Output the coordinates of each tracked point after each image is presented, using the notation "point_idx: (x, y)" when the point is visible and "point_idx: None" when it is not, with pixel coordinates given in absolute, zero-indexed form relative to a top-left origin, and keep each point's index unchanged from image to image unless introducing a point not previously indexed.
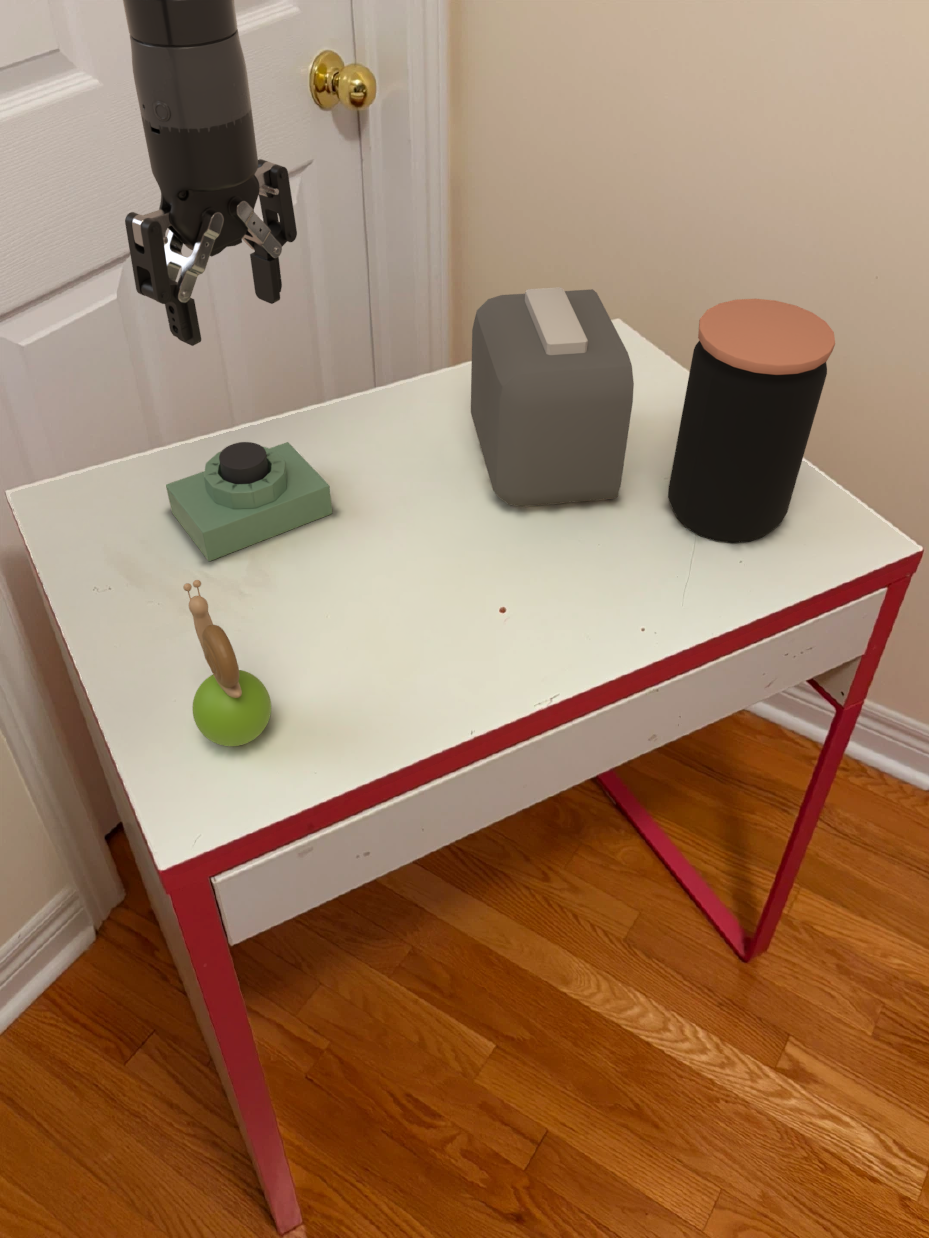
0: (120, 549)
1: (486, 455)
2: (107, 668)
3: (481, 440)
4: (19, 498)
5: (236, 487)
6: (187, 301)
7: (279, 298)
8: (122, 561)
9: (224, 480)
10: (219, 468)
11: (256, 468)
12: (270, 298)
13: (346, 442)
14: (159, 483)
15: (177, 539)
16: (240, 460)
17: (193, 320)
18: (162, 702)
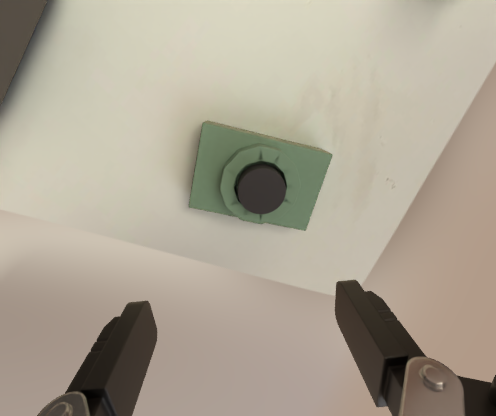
0: (351, 210)
1: (20, 3)
2: (455, 104)
3: (8, 39)
4: None
5: (287, 168)
6: (402, 359)
7: (129, 303)
8: (360, 198)
9: None
10: None
11: (264, 167)
12: (145, 312)
13: (129, 193)
14: (279, 252)
15: None
16: (269, 186)
17: (371, 315)
18: (466, 34)
